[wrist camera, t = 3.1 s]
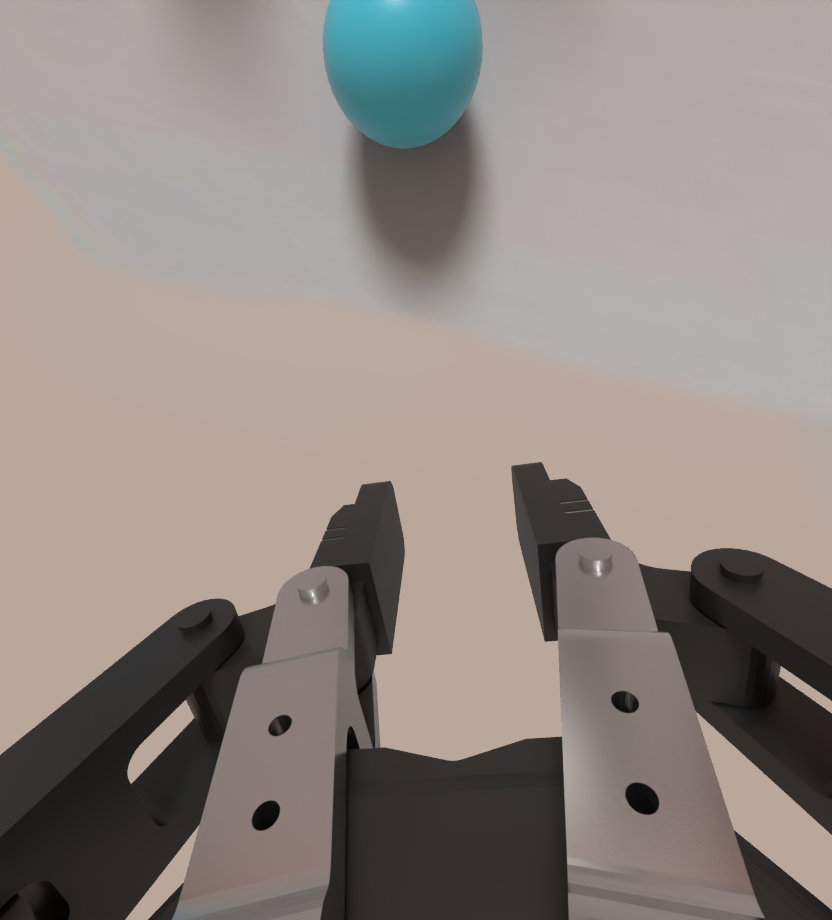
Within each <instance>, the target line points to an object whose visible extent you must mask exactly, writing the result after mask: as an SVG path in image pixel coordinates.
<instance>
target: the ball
mask: <svg viewBox="0 0 832 920" xmlns="http://www.w3.org/2000/svg"><path fill="white" fill-rule="evenodd" d="M323 52H324V61H325V68H326V72H327V76H328V80H329V83H330V86H331V89H332V91H333V94H334V96H335V98H336V100H337V102H338V104H339V106H340V108H341V109H342V111H343V112H344V114H345V115H346V117H347V118H348V119H349V120H350V122H351V123H352V124H353V125H354V126H355V127H356V128H357V129H358V130H359V131H360V132H362V133H363V134H364V135H366V136H367V137H368V138H370V139H372V140H373V141H375V142H377V143H379V144H382V145H385V146H388V147H393V148H402V149H408V148H416V147H420V146H423V145H426V144H428V143H431V142H433V141H435V140H436V139H438V138H440V137H441V136H443V135H444V134H445V133H446V132H447V131H449V130H450V129H451V128H452V127H453V126H454V125H455V123H456V122H457V121H458V120H459V119H460V117H461V116H462V114H463V113H464V112H465V110H466V108H467V106H468V104H469V102H470V100H471V98H472V95H473V93H474V91H475V88H476V85H477V81H478V78H479V74H480V68H481V61H482V30H481V23H480V17H479V13H478V9H477V6H476V3H475V0H330V1H329V4H328V8H327V11H326V16H325V22H324V31H323Z"/></svg>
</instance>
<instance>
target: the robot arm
mask: <svg viewBox="0 0 832 920" xmlns="http://www.w3.org/2000/svg"><path fill="white" fill-rule="evenodd" d="M512 482H513V491H514V502H515V513H516V523H517V530H518V537H519V542H520V546H521V550H522V554H523V558H524V562H525V566H526V570H527V574H528V577H529V582H530V585H531V589H532V593H533V597H534V601H535V605H536V609H537V613H538V616H539V620H540V624H541V628H542V632H543V636H544V640H545V641H558V644H559V645H558V648H559V672H560V697H561V722H562V737H550V738H534V739H525V740H522V741H518V742H515V743H512V744H509V745H506V746H503V747H500V748H497V749H493V750H490V751H488V752H484V753H481V754H478V755H475V756H472V757H469V758H466V759H462V760H458V761H447V760H442V759H437V758H432V757H428V756H423V755H417V754H413V753H408V752H404V751H399V750H394V749H389V748H380V735H379V718H378V703H377V685H376V679H375V675H374V671H373V670H374V665H375V660H376V655H384V654H392V648H393V640H394V633H395V625H396V617H397V610H398V602H399V595H400V587H401V580H402V572H403V565H404V556H405V553H404V552H405V549H404V538H403V532H402V527H401V523H400V518H399V513H398V508H397V503H396V498H395V493H394V489H393V485H392V483H391V481H387V482H379V483H372V484H363V485H362V486H361V488H360V491H359V494H358V497H357V499H356V502H355V504H351V505H344V506H343V507H342V508H341V509H340V510H339V511H338V512H336V513H335V514H334V515H333V516H332V517H331V520H330V522H329V524H328V527H327V531H326V532H325V534H324V536H323V538H322V539H323V541H321V543H320V546H319V548H318V550H317V553H316V555H315V557H314V560H313V562H312V564H311V567H310V569H308V570H305V571H303V572H301V573H298V574H297V575H295V576H293V577H292V578H291V579H289V580H288V581H287V582H286V583H285V584H284V585H283V586H282V588H281V589H280V591H279V593H278V596H277V600H276V604H274V605H272V606H269V607H266V608H263V609H260V610H257V611H254V612H251V613H248V614H245V615H241V616H238V614H237V612H236V609H235V607H234V605H233V604H232V603H231V602H230V601H228V600H225V599H209V600H205V601H201V602H198V603H196V604H193V605H191V606H189V607H187V608H185V609H183V610H181V611H180V612H178V613H177V614H176V615H174V616H173V617H171V618H170V619H169V620H168V621H167V622H165V623H164V624H163V625H162V626H160V627H159V628H158V629H157V630H155V631H154V632H153V633H152V634H150V635H149V636H148V637H147V638H145V639H144V640H143V641H142V642H140V643H139V644H138V645H137V646H136V647H134V648H133V649H132V650H130V651H129V652H128V653H127V654H125V656H123V657H122V658H121V659H119V660H118V661H117V662H116V663H114V664H113V665H112V666H110V667H109V668H108V669H107V670H106V671H104V672H103V673H102V674H101V675H99V676H98V677H97V678H96V679H95V680H93V681H92V682H91V683H89V684H88V685H87V686H86V687H84V688H83V689H82V690H81V691H79V692H78V693H77V694H76V695H74V696H73V697H72V698H71V699H69V700H68V701H67V702H66V703H64V704H63V705H62V706H61V707H59V708H58V709H57V710H56V711H54V712H53V713H52V714H51V715H50V716H48V717H47V718H46V719H44V720H43V721H42V722H41V723H40V724H38V725H37V726H36V727H35V728H33V729H32V730H31V731H30V732H28V733H27V734H26V735H25V736H23V737H22V738H21V739H20V740H18V741H17V742H16V743H15V744H13V745H12V746H11V747H10V748H8V749H7V750H6V751H5V752H4V753H2V754H1V755H0V920H125V919H126V918H127V917H128V915H129V914H130V913H131V911H132V910H133V909H134V907H135V906H136V905H137V904H138V902H139V901H140V900H141V899H142V897H143V896H144V895H145V893H146V892H147V891H148V890H149V888H150V887H151V886H152V885H153V883H154V882H155V881H156V879H157V878H158V877H159V875H160V874H161V873H162V872H163V870H164V869H165V868H166V866H167V865H168V864H169V863H170V861H171V860H172V859H173V858H174V856H175V855H176V854H177V853H178V851H179V850H180V849H181V847H182V846H183V845H184V844H185V842H186V841H187V839H188V838H189V837H190V836H191V835H192V833H193V832H194V831H195V829H196V828H197V827H198V826H199V824H200V826H199V829H198V833H197V836H196V841H195V844H194V848H193V851H192V855H191V858H190V862H189V866H188V869H187V873H186V877H185V880H184V883H183V884H182V885H181V886H180V887H179V888H178V889H177V890H176V891H175V892H174V893H173V894H172V895H171V896H170V897H169V898H168V899H167V900H166V902H164V904H163V905H162V906H161V907H160V908H159V909H158V910H157V911H156V912H155V913H154V914H153V915H152V916H151V917H150V918H149V919H148V920H832V910H831V909H830V908H828V907H827V906H826V905H825V904H824V903H822V902H821V901H820V900H819V899H817V898H816V897H815V896H814V895H813V894H811V893H810V892H809V891H808V890H806V889H805V888H804V887H803V886H802V885H800V884H799V883H798V882H797V881H795V880H794V879H793V878H792V877H791V876H789V875H788V874H787V873H786V872H784V871H783V870H782V869H781V868H780V867H778V866H777V865H776V864H775V863H773V862H772V861H771V860H770V859H769V858H767V857H766V856H765V855H764V854H762V853H761V852H760V851H759V850H758V849H756V848H755V847H754V846H753V845H751V844H750V843H749V842H748V841H746V840H745V839H744V838H743V837H742V836H740V835H739V834H738V833H737V832H736V831H734V830H733V826H732V823H731V820H730V818H729V814H728V811H727V808H726V805H725V802H724V798H723V795H722V792H721V789H720V786H719V783H718V780H717V777H716V774H715V771H714V767H713V764H712V761H711V758H710V755H709V752H708V749H707V746H706V743H705V739H704V736H703V733H702V730H701V727H700V724H699V721H698V718H697V714H696V712H697V713H699V714H700V715H701V716H702V717H703V718H704V719H705V720H706V721H707V722H708V723H709V724H711V725H712V726H713V727H714V728H715V729H716V730H717V731H718V732H719V733H721V734H722V735H723V736H724V737H725V738H726V739H727V740H728V741H729V742H730V743H732V745H734V746H735V747H736V748H737V749H738V750H739V751H740V752H741V753H742V754H743V755H745V756H746V757H747V758H748V759H749V760H750V761H751V762H752V763H753V764H754V765H756V766H757V767H758V768H759V769H760V770H761V771H762V772H763V773H764V774H765V775H767V776H768V777H769V778H770V779H771V780H772V781H773V782H774V783H775V784H776V785H778V786H779V787H780V788H781V789H782V790H783V791H784V792H785V793H786V794H788V795H789V796H790V797H791V798H792V799H793V800H794V801H795V802H796V803H797V804H799V805H800V806H801V807H802V808H803V809H804V810H805V811H806V812H807V813H809V815H810V816H812V817H813V818H814V819H815V820H816V821H817V822H818V823H819V824H820V825H822V826H823V827H824V828H825V829H826V830H827V831H828V832H829V833H830V834H832V713H830V712H829V711H827V710H826V709H825V708H823V707H822V706H820V705H819V704H817V703H816V702H815V701H813V700H812V699H810V698H809V697H807V696H806V695H804V694H803V693H802V692H801V691H799V690H798V689H796V688H795V687H793V686H792V685H790V684H789V683H788V682H786V681H785V680H784V679H782V678H780V677H779V673H780V667H781V666H782V667H783V668H785V669H787V670H788V671H789V672H791V673H792V674H794V675H795V676H797V677H798V678H799V679H801V680H802V681H804V682H805V683H807V684H808V685H810V686H811V687H813V688H814V689H816V690H817V691H818V692H820V693H821V694H823V695H824V696H826V697H827V698H829V699H830V700H831V701H832V589H831V588H829V587H827V586H825V585H823V584H821V583H819V582H817V581H815V580H813V579H811V578H809V577H807V576H805V575H803V574H801V573H799V572H797V571H795V570H793V569H791V568H789V567H787V566H785V565H783V564H781V563H779V562H777V561H775V560H773V559H771V558H769V557H767V556H764V555H761V554H759V553H755V552H751V551H747V550H741V549H732V548H723V549H722V548H721V549H713V550H708V551H705V552H703V553H701V554H699V555H698V556H697V557H695V558H694V560H693V561H692V565H691V572H688V571H679V570H668V569H660V568H654V567H649V566H645V565H642V564H639V563H638V561H637V558H636V556H635V554H634V553H633V552H632V551H631V550H630V549H629V548H628V547H626V546H624V545H623V544H621V543H618V542H615V541H613V540H611V539H610V537H609V536H608V534H607V532H606V530H605V529H604V527H603V525H602V524H601V522H600V520H599V518H598V516H597V515H596V513H595V511H594V510H593V508H592V506H591V504H590V503H589V501H588V500H587V497H586V496H585V494H584V492H583V490H582V489H581V487H580V486H578V485H576V484H575V483H573V482H571V481H569V480H568V479H558V480H550V479H549V477H548V475H547V473H546V470H545V468H544V466H543V464H542V462H538V463H530V464H523V465H515V466H512ZM185 700H186V701H187V703H188V705H189V707H190V709H191V711H192V713H193V715H194V717H195V718H194V719H193V720H192V721H191V722H190V723H189V724H188V726H187V727H186V728H185V729H184V730H183V731H182V732H181V733H180V734H179V735H178V736H177V737H176V738H175V739H174V740H173V741H172V742H171V744H169V746H167V747H166V748H165V750H164V751H163V752H162V753H161V754H160V755H159V756H158V757H157V758H156V759H155V760H154V761H153V762H152V763H151V764H150V765H149V766H148V767H147V768H146V770H144V772H143V773H142V774H141V775H140V776H139V777H138V778H137V779H136V780H135V781H134V782H133V783H132V784H131V783H130V782H129V780H128V776H127V769H128V765H129V762H130V760H131V757H132V755H133V754H134V752H135V751H136V749H137V748H138V747H139V745H140V744H141V743H142V742H143V741H144V740H145V739H146V738H147V737H148V736H149V735H150V734H151V733H152V732H153V731H154V730H155V729H156V728H157V727H158V726H159V725H160V724H161V723H162V722H163V721H164V720H165V719H166V718H167V717H168V716H169V715H170V714H171V713H172V712H173V711H175V709H176V708H178V707H179V705H180V704H182V702H184V701H185Z"/></svg>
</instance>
